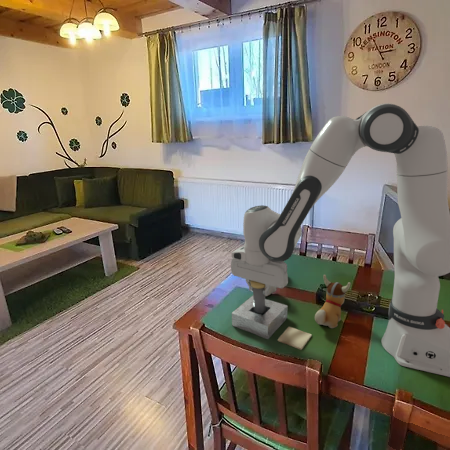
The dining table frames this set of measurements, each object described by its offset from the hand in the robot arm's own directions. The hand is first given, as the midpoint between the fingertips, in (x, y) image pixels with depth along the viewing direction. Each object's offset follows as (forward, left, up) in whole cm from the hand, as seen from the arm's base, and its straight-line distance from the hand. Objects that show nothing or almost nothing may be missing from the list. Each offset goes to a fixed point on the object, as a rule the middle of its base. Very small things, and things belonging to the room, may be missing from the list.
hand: (259, 292), depth 111 cm
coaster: (-14, +2, -12) cm, 18 cm away
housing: (0, 0, -12) cm, 12 cm away
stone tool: (+6, -17, -12) cm, 21 cm away
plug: (0, 0, -7) cm, 7 cm away
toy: (-20, -12, -12) cm, 26 cm away
